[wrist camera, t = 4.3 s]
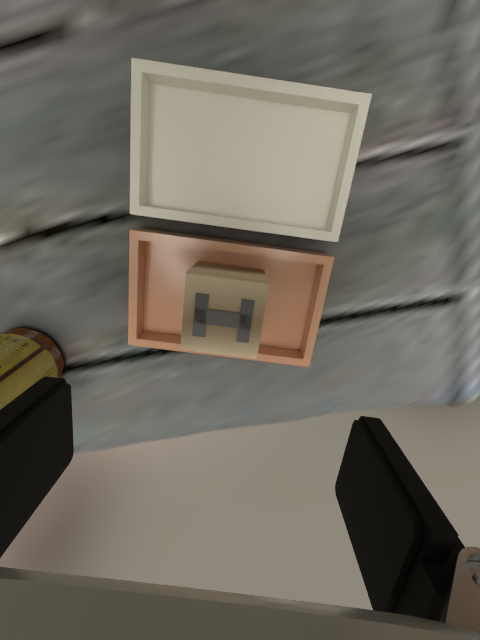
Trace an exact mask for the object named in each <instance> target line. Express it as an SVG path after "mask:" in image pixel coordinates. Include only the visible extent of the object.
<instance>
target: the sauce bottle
mask: <svg viewBox="0 0 480 640" xmlns="http://www.w3.org/2000/svg"><path fill="white" fill-rule="evenodd" d="M63 368H64V360H63V358H62V355H61V353H60V351H59V350H58V348H57V347H56V345H55V344H54V342H53V341H52V340H51V339H50V338H48V337H47V336H46V335H44V334H42V333H40V332H37V331H34V330H32V329H26V328H16V329H12V330H8V331H5V332H3V333H1V334H0V410H1V409H2V408H3V407H4V406H6V405H7V404H8V403H10V402H11V401H12V400H14V399H15V398H16V397H18V396H19V395H20V394H21V393H23V392H24V391H25V390H27V389H28V388H29V387H31V386H32V385H33V384H35V383H36V382H37V381H38V380H40V379H41V378H43V377H44V376H48V377H56V378H60V376H61V374H62V371H63Z"/></svg>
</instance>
